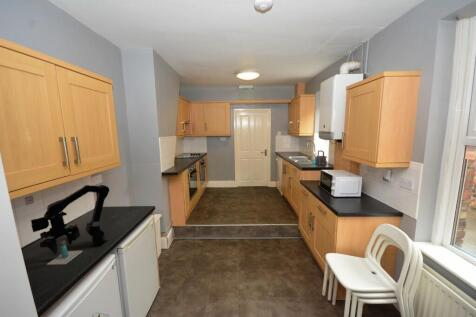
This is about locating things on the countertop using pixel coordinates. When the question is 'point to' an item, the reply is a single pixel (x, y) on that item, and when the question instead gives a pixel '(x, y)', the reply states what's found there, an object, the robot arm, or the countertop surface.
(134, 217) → the countertop surface
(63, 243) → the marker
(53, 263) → the notepad
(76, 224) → the battery
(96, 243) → the robot arm
